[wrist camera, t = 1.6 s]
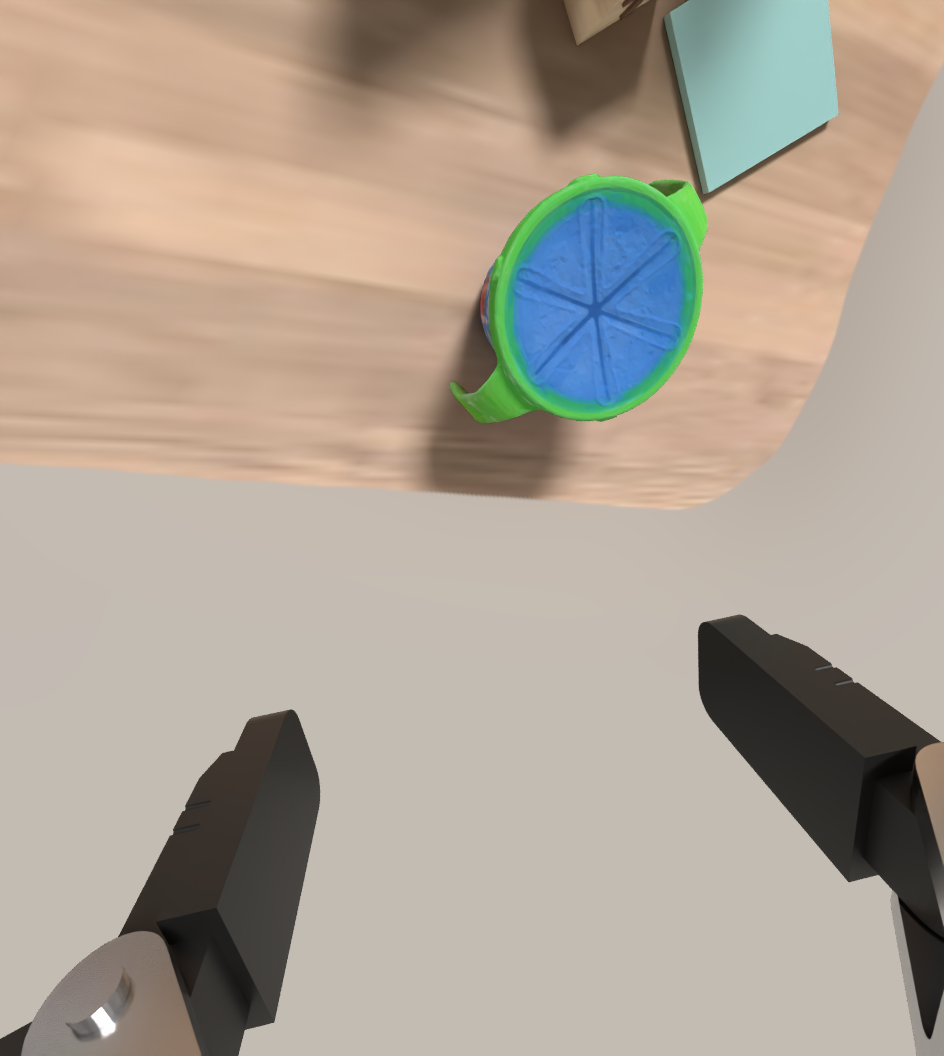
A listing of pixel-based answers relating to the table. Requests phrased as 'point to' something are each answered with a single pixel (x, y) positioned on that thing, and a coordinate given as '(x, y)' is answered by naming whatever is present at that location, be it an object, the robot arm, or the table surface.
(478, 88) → the table surface
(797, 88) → the pad
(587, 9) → the letter cube
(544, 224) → the snack cup
